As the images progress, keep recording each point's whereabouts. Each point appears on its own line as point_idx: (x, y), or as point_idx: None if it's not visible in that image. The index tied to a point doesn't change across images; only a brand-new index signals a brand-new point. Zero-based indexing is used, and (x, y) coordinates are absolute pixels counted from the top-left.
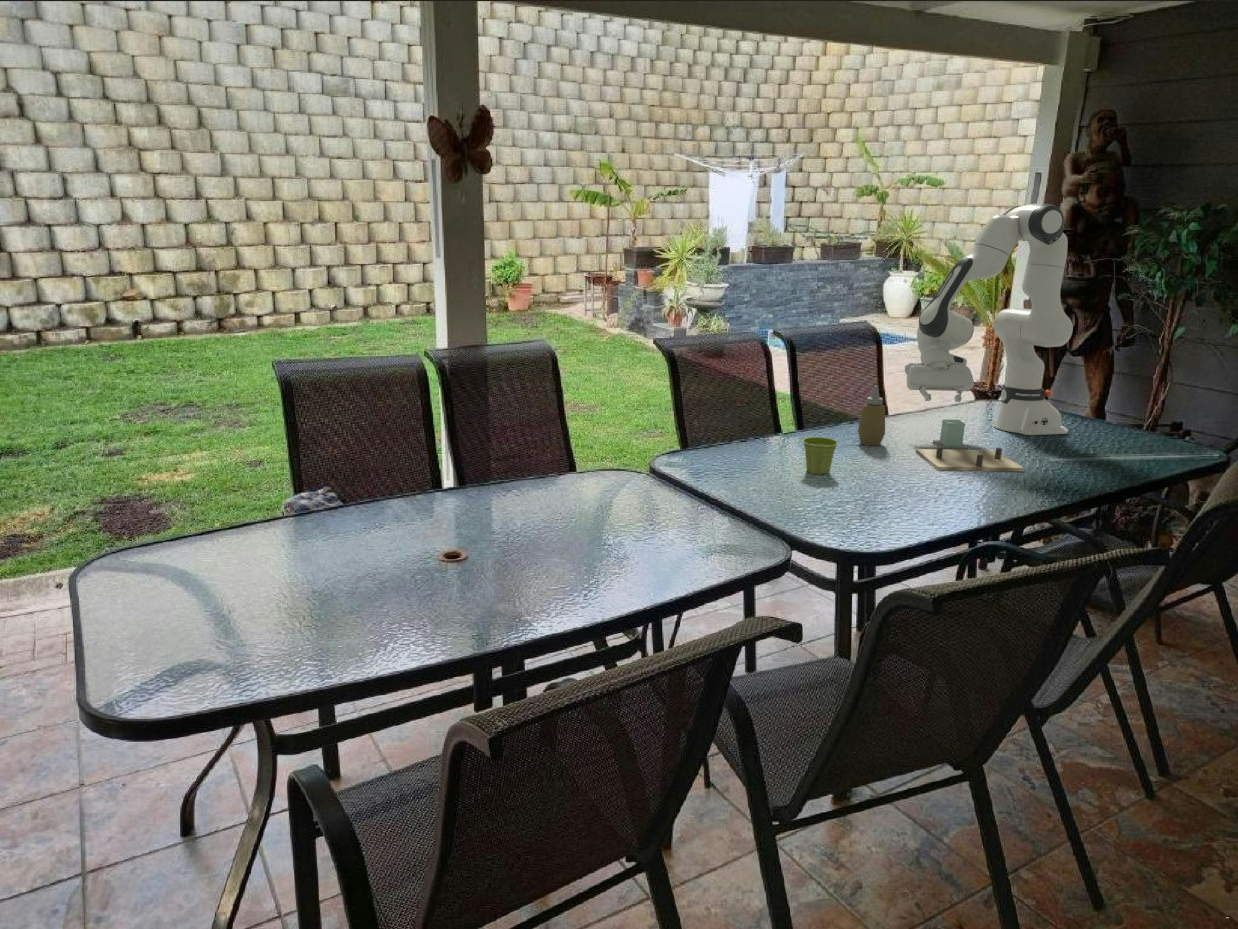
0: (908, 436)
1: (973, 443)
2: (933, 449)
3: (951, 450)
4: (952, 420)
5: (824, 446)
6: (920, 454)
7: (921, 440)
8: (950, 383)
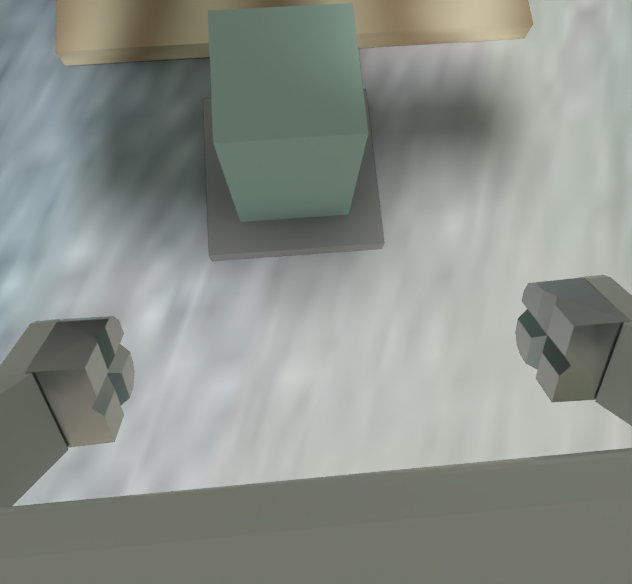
0: (513, 400)
1: (110, 272)
2: (434, 26)
3: None
4: (283, 109)
5: None
6: None
7: (442, 302)
8: (105, 530)
